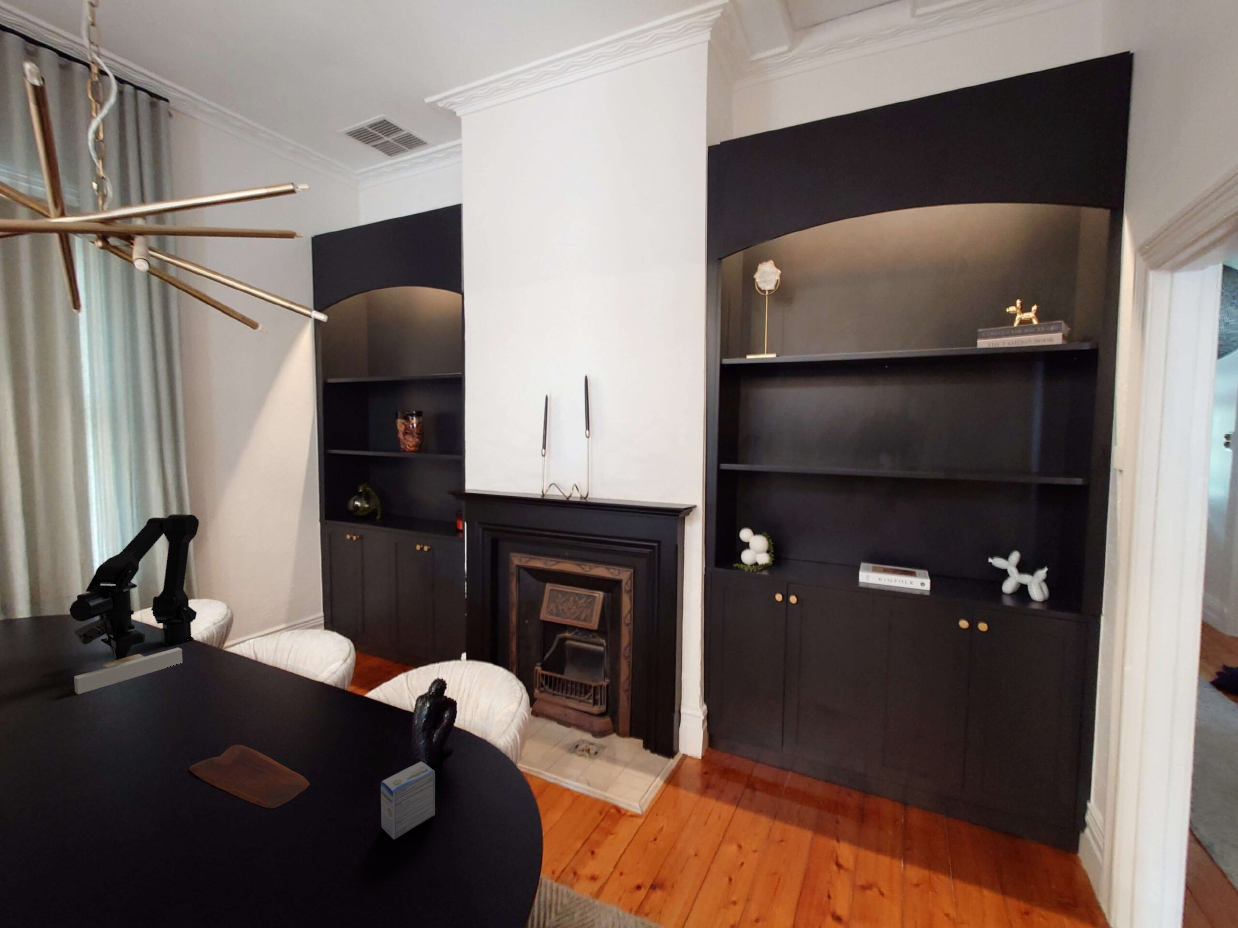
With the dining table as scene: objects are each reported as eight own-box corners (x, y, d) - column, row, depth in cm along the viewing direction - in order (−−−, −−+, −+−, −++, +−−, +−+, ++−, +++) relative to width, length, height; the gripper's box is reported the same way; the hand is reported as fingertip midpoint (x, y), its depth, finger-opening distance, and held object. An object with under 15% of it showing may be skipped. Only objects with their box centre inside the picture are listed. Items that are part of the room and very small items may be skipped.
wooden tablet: (184, 773, 111) (184, 765, 111) (237, 747, 120) (237, 740, 120) (266, 817, 99) (265, 808, 99) (318, 785, 108) (318, 777, 108)
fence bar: (178, 660, 160) (178, 647, 160) (182, 662, 159) (181, 649, 159) (75, 691, 142) (74, 676, 141) (78, 694, 140) (77, 678, 140)
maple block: (140, 665, 158) (139, 653, 157) (148, 671, 154) (148, 658, 154) (102, 676, 151) (102, 663, 150) (111, 682, 148) (110, 669, 147)
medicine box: (422, 804, 103) (421, 759, 102) (435, 815, 100) (435, 769, 99) (380, 828, 97) (379, 780, 96) (394, 841, 94) (393, 791, 93)
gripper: (65, 609, 151) (68, 665, 153) (90, 624, 142) (93, 683, 143) (118, 598, 161) (121, 651, 162) (144, 611, 151) (147, 667, 152)
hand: (119, 663), depth 155 cm, fingers closed
